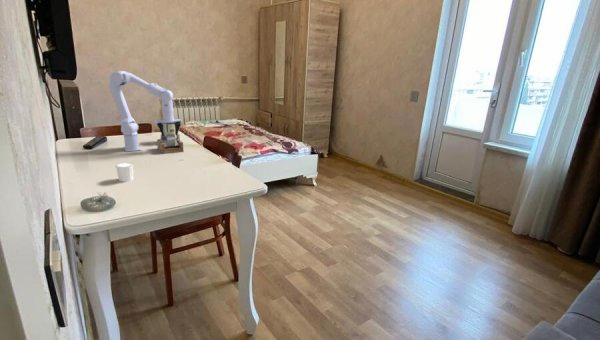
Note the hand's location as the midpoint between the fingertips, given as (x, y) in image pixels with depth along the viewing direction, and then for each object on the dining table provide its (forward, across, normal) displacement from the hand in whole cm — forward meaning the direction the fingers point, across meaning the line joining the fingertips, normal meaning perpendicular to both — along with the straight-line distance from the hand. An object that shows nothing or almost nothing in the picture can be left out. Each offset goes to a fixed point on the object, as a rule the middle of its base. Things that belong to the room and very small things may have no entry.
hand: (169, 135), depth 189 cm
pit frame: (+9, 0, 0) cm, 9 cm away
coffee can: (+9, -5, -19) cm, 22 cm away
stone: (+5, 0, 0) cm, 5 cm away
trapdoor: (+5, 0, -3) cm, 6 cm away
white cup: (+9, +29, +40) cm, 50 cm away
